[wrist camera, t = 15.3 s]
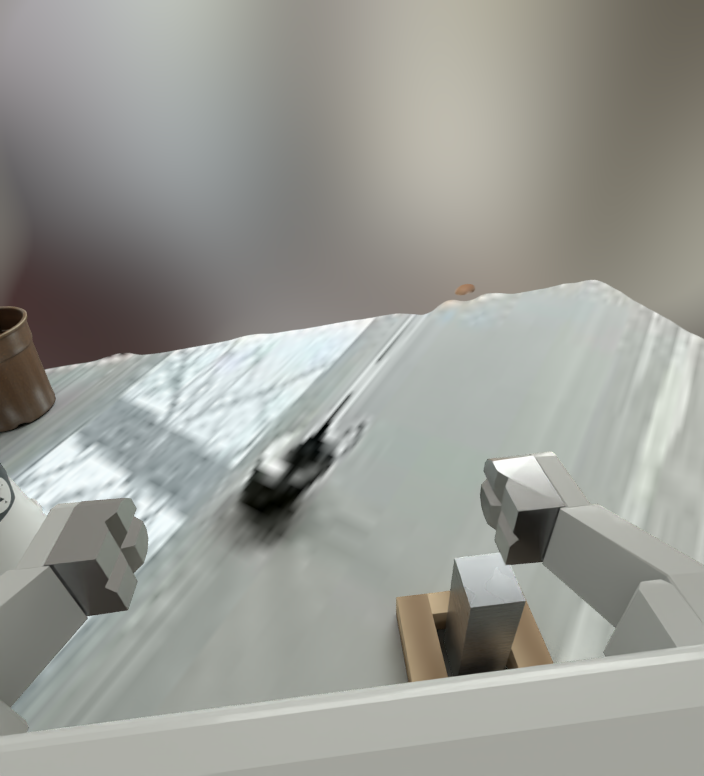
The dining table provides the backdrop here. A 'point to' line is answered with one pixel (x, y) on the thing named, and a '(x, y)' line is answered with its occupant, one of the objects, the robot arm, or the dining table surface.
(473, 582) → the post
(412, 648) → the well block
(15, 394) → the plant pot
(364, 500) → the dining table surface
